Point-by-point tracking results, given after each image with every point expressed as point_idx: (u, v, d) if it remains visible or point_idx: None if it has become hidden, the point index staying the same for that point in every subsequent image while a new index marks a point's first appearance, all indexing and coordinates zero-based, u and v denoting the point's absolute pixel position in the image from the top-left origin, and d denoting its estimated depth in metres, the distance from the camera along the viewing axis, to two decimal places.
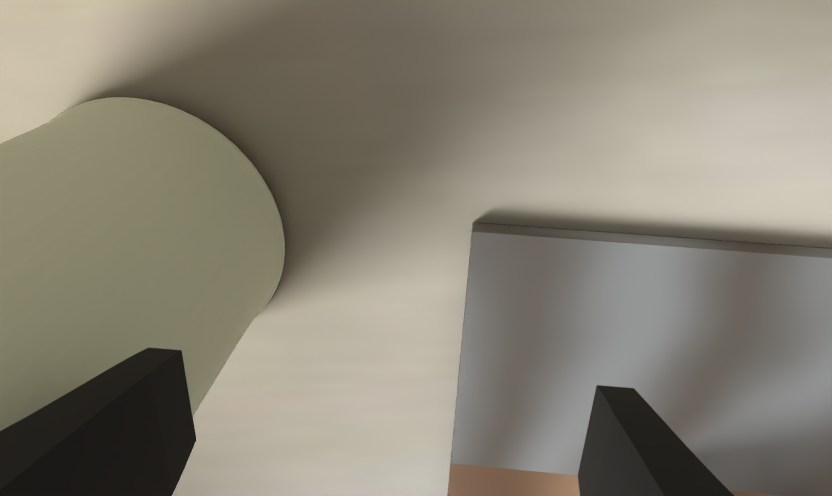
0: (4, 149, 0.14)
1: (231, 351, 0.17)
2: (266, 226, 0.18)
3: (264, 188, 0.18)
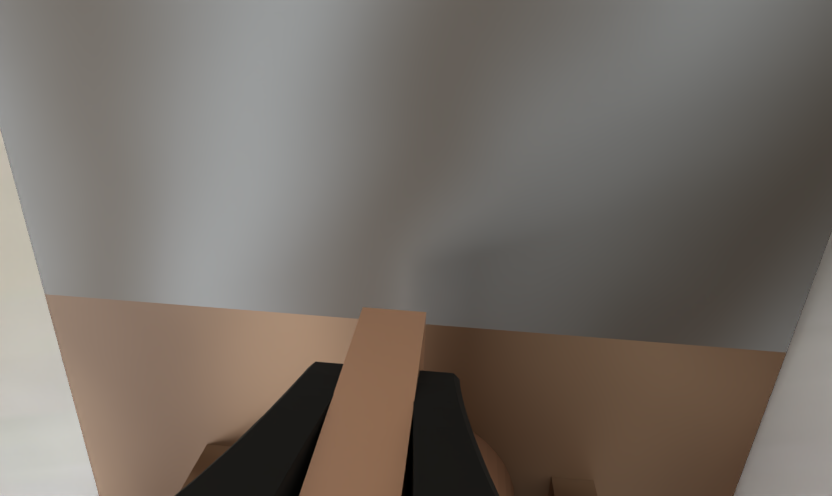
0: None
1: None
2: None
3: None
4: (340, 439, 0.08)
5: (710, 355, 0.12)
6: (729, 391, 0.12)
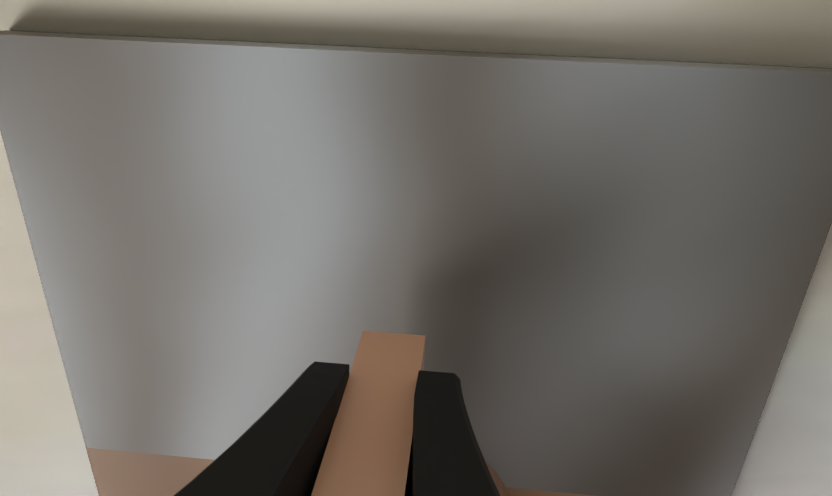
0: None
1: None
2: None
3: None
4: (341, 466, 0.08)
5: None
6: None
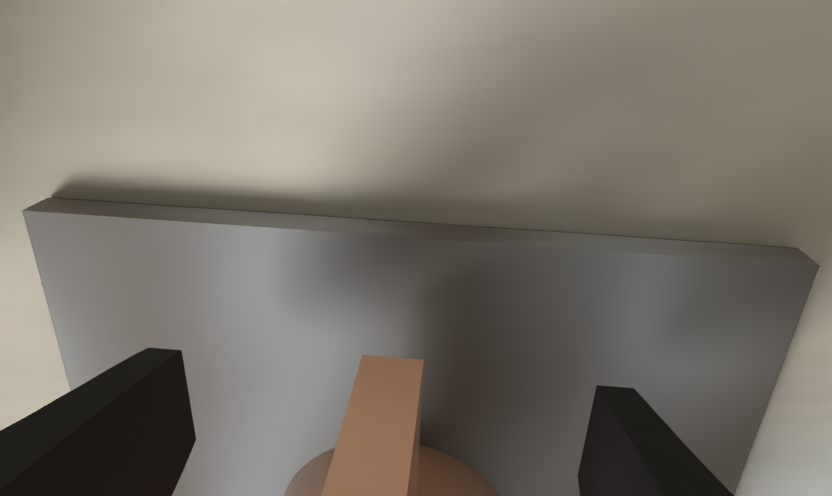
0: None
1: None
2: None
3: None
4: None
5: None
6: None
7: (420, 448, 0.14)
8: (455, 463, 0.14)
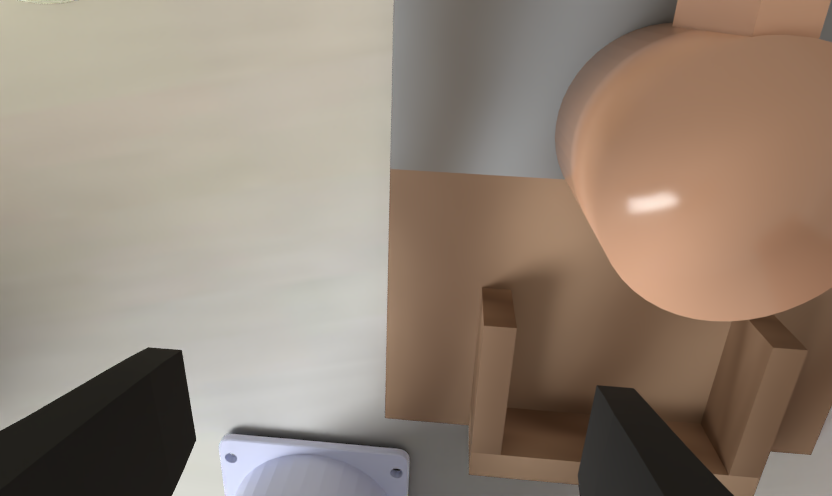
0: None
1: None
2: None
3: None
4: None
5: None
6: None
7: None
8: None
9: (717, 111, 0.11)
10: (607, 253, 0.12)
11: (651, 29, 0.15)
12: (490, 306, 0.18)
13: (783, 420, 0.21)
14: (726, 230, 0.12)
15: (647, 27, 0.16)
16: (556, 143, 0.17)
